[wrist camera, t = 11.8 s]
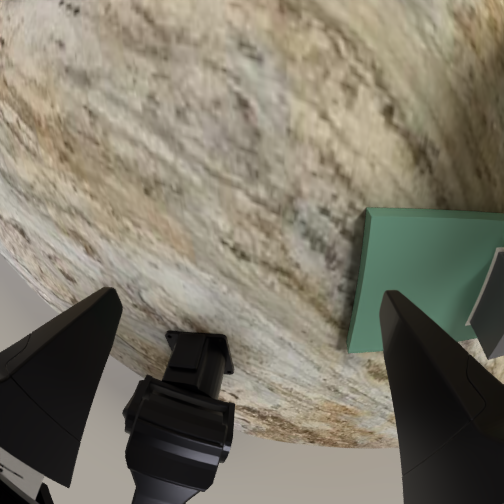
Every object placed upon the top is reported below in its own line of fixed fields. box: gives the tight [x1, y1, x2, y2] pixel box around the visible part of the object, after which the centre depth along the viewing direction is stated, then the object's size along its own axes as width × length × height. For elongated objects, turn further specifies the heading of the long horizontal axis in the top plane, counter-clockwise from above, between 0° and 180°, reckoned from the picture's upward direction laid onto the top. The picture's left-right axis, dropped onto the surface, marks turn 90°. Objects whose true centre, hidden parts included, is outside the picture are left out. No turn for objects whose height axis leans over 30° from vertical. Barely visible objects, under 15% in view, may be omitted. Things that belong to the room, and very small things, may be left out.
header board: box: [346, 208, 504, 353], centre depth 19 cm, size 14×22×4 cm, turn 95°
